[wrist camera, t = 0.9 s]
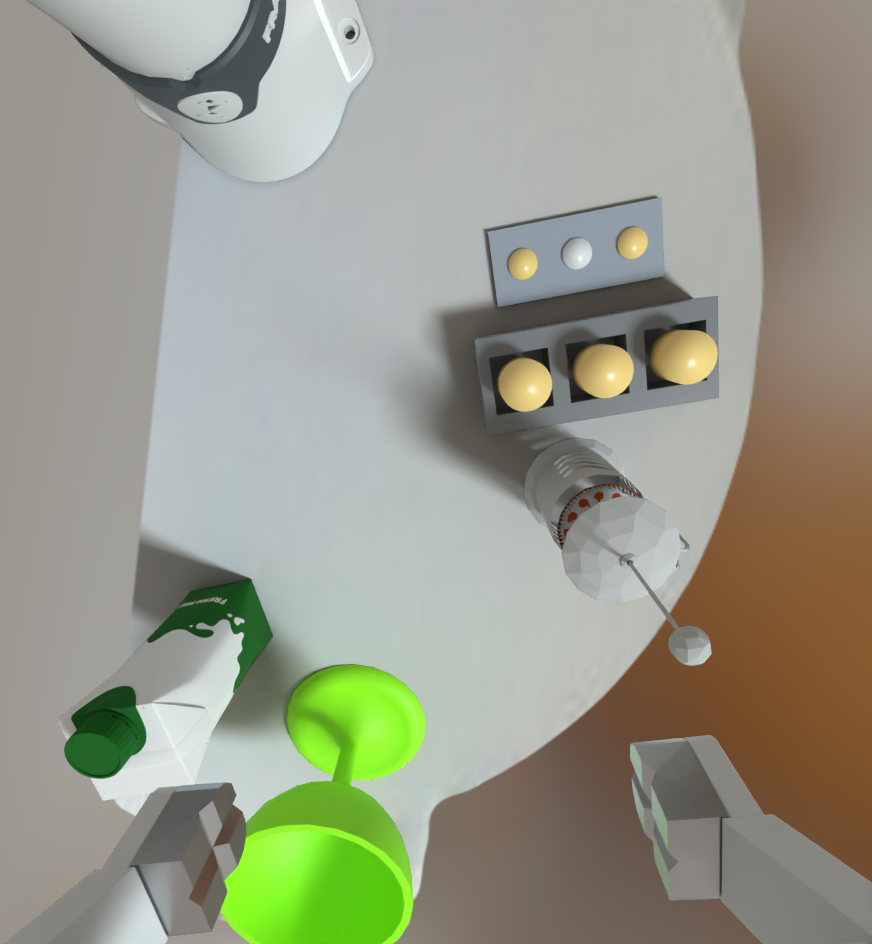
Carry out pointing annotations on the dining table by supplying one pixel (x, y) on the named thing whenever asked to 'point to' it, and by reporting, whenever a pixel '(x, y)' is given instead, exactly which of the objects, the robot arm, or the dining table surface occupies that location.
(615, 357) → the middle button
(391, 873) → the wineglass
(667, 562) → the french press
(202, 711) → the milk carton
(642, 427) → the dining table surface
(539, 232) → the button board
